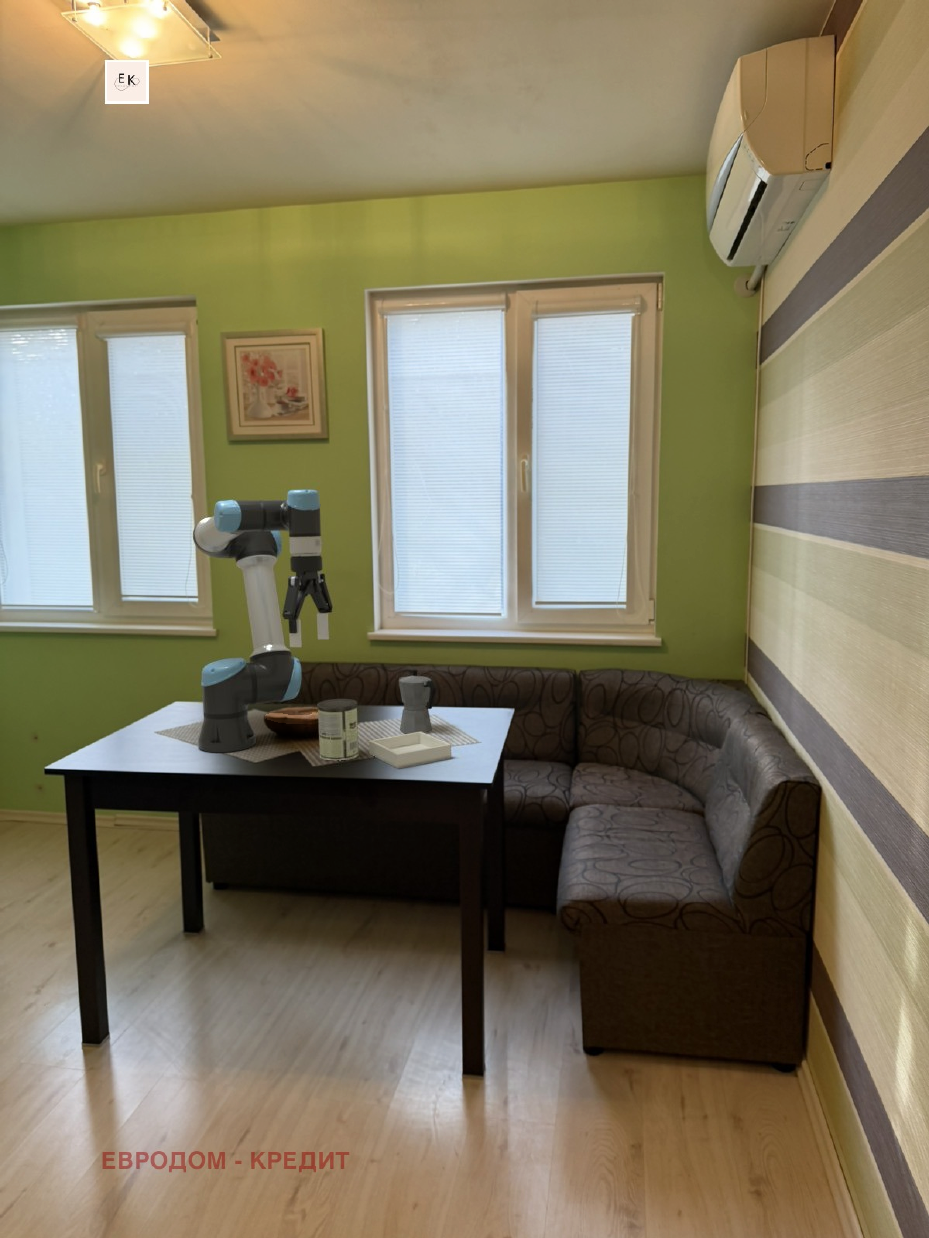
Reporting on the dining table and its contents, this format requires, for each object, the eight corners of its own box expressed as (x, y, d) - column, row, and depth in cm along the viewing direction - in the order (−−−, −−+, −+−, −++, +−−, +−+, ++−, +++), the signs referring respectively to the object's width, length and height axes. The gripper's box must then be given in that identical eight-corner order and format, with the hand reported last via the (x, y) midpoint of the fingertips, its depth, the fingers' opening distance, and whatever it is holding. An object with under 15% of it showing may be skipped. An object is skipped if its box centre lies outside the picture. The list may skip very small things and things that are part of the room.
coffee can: (324, 749, 227) (323, 698, 225) (362, 750, 226) (361, 698, 224) (314, 761, 217) (312, 707, 215) (354, 762, 216) (352, 707, 214)
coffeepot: (388, 729, 247) (387, 668, 245) (413, 723, 253) (412, 664, 251) (423, 739, 236) (422, 675, 234) (448, 733, 242) (447, 671, 240)
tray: (369, 753, 223) (369, 740, 222) (420, 744, 231) (420, 731, 231) (397, 768, 210) (397, 754, 209) (451, 758, 218) (451, 744, 218)
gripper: (293, 557, 190) (297, 650, 192) (343, 552, 214) (347, 636, 216) (264, 557, 193) (268, 650, 195) (317, 553, 216) (320, 636, 218)
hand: (310, 643), depth 205 cm, fingers open, 13 cm apart
